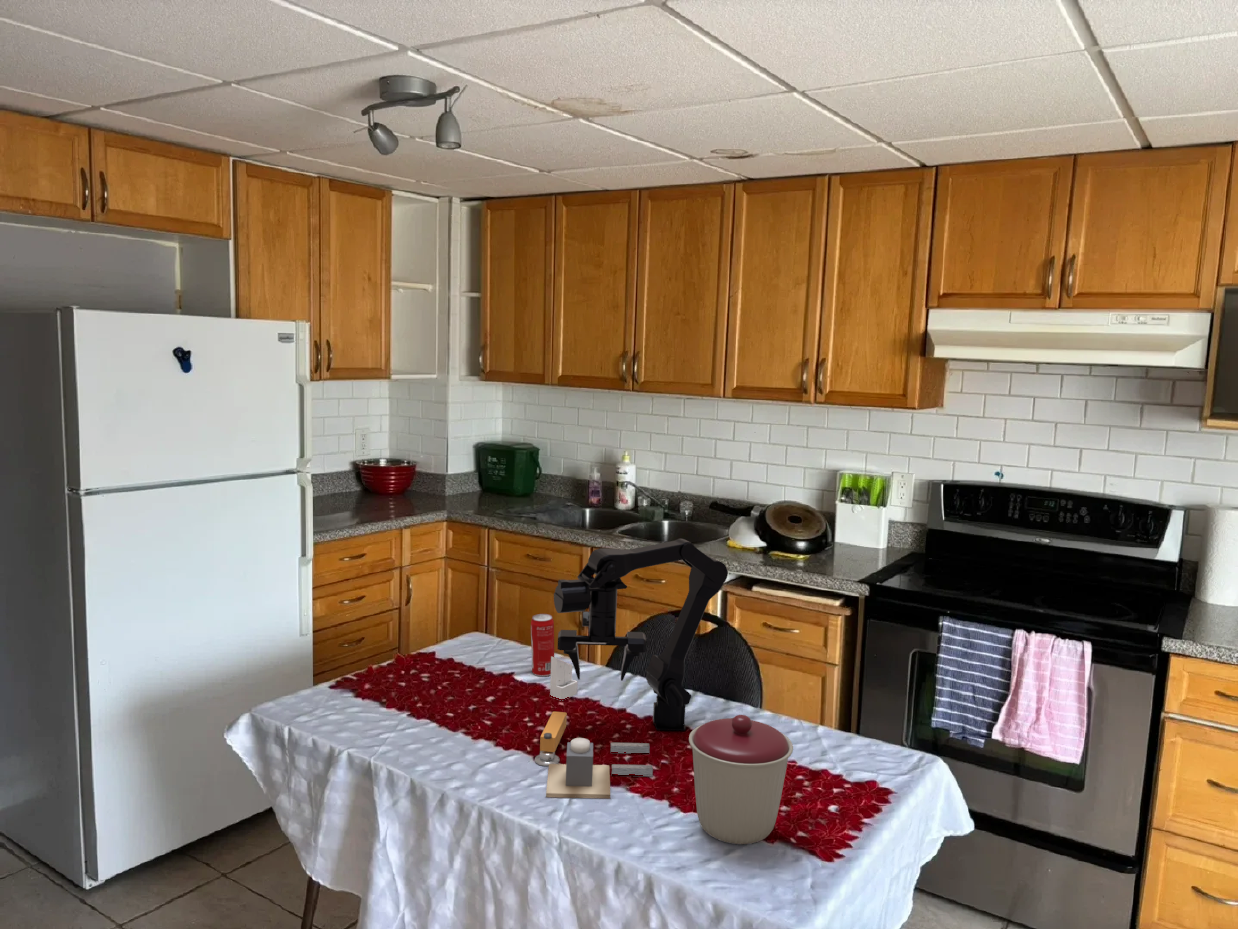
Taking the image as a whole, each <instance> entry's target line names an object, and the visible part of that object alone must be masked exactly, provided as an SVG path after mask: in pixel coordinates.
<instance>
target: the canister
mask: <svg viewBox="0 0 1238 929" xmlns="http://www.w3.org/2000/svg"><path fill="white" fill-rule="evenodd" d="M688 736H689V737H688V742H689V745H690V747H691V749H692V760H693V761H692V762H693V763H692V764H693V778H694V794H695V803H696V814H697V818H698V821H699V824H700V826H701V828H702V829H703V830H704V832H706V833H707V834H708V836H711V837H712V838H715V839H716V840H719V841H721V842H725V843H729V844H731V845H732V844H733V845H749V844H750V845H751V844H753V843H754V844H755V843H758V842H761V841H762V840H765V839H766V838H767V837H768V836H770V834H771V833H772V831H773V830H774V828H775V825H776V822H777V817H778V813H779V810H780V809H779V808H780V805H781V799H782V796H783V795H782V793H783V788H784V782H785V777H786V772H787V768H788V767H787V766H788V762H789V761H788V760H789V758H790V757H791V755H792V754H793V751H794V746H793V745H794V744H793V742H792V741H791V740H790V738H789V737H788V736H787V735H785V734H784V733H783V732H781V731H779V729H776V728H775V727H773V726H772V725H769V724H767V723H764V722H760V721H757V720H752V719H751V718H750V717H749V716H747V715H745V714H736V715H735V716H734V717H732V718H731V717H730V718H729V717H728V718H720V719H713V720H710V721H707V722H705V723H702V724H700V725H698V726H697V727H695V728H694V729H692V731H691V732H690V733H689V735H688Z"/></svg>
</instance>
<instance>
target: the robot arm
mask: <svg viewBox="0 0 1238 929" xmlns="http://www.w3.org/2000/svg"><path fill="white" fill-rule="evenodd" d="M679 561H681V562H684V564H685V565H687V567H689V568H690V571H689V576H688V593H687V596H686V598H685V600H684V603H683V605H682V607H681V611H680V612H679V615H678V618H677V620H676V622H675V625H674V627H673V629H672V632H671V634H670V636H669V638H668V641H667V644H666V646H665V648H664V650H663V651H662V652H660V654H659V655H656V654H652V656H651V658H650V662H649V664H648V666H647V667H646V668H645V669H644V671H645V672H646V675H645V679H646V682H647V684H648V685H649V687H650V688H651V689H652V691H653V693H654V694H656V698H655V699H656V700H655V701H654V702H653V705H652V706H653V709H652V710H653V711H652V722H653V725H655V729H656V730H657V731H675V730H676V731H679V730H681V731H683V732H685V731H686V724H685V722H686V721H685V720H686V719H685V718H686V705H689V704H690V702H691V699H692V695H691V693H690V692H689V691H688V690H687V689H686V688H685V687H684V686H683V684H684V683H683V682H684V679H685V678H684V677H685V659H686V657H687V654H688V653H689V650H690V648H691V644H692V642H693V640H694V638H695V635H696V632H697V630H698V628H699V626H700V623H701V621H702V619H703V616H704V613H705V611H706V608H707V606H708V604H709V601H711V599H713V598H714V596H716V595H717V593H719V592H720V591H721V590H722V587H723V586H724V584H725V582H726V581H727V579H728V575H729V570H728V568H727V566H726V564H725V563H723V562H722V561H721V560H719V559H716V558H714V557H713V556H710V555H707V554H705V553H704V552H702V551H701V550H700V549H698V547H696V546H695V545H694V543H693V542H691V541H689V540H686V539H684V538H677V539H675V540H672V541H671V540H670V541H667V542H661V543H655V544H650V545H646V546H640V547H634V548H628V549H626V548H625V549H621V548H609V547H608V548H606V547H605V548H601V547H600V548H597V549H595V550H593V551H592V552H591V553H590V555H589V557H588V560H587V563H586V564H585V566H584V567H583V569H581V571H580V573H579V574H578V575H577V577H576V578H577V579H558V581H557V586H556V587H555V590H554V593H553V604H554V608H555V611H556V613H558V614H565V613H576V612H582V627H588V630H587V631H588V635H578V634H577V633H578V632H577V630H576V629H560V631H558V634H557V650H559V651H563V654H565V655H568V657H569V660H570V662H572V667H573V669H574V671H575V674H576V678H577V680H581V667H580V657H579V646H580V645H581V646H582V645H583V646H584V645H585V646H586V645H587V646H617V647H624V651H623V659H622V663H621V664H622V665H621V669H620V681H622V682H623V681H624V678H625V677H626V674H627V672H628V670H629V667H630V665H631V664H632V662H633V660H634V659H635V657H639V656H640V653H641V654H642V653H643V654H644V653H646V652H647V636H646V634H645V633H644V632H643V631H627V632H626V636H616V634H617V633H616V631H617V630H616V629H617V608H618V607H617V605H618V590H624V589H625V590H627V589H628V585H627V584H625V583H624V582H623V580H622V579H621V578H623V577H626V576H627V575H628V574H630V573H631V572H633V571H636V570H638V569H643V568H648V567H649V568H650V567H653V566H659V565H664V564H668V563H673V562H679ZM594 575H595V576H594ZM587 609H589V611H586V610H587ZM578 645H579V646H578ZM681 731H680V732H681Z"/></svg>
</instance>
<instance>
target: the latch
mask: <svg viewBox="0 0 1238 929" xmlns="http://www.w3.org/2000/svg"><path fill="white" fill-rule="evenodd" d="M567 718H568V714H567V712H565V711H564V712H562V711H552V713H551V715H550V717H549V718H548V721H547V723H546V725H545V727H544V729H543V730H542V733H541V735H540V738H539V739H540V742H539V752H540V751H548V752H555V753H556V750H557V747H558V745H559V744H560V742H561V739H562V736H563V735H564V732H565V731H566V730H565V729H566V727H567Z"/></svg>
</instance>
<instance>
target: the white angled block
mask: <svg viewBox="0 0 1238 929" xmlns="http://www.w3.org/2000/svg"><path fill="white" fill-rule="evenodd" d="M578 683H579V682H578V681H577V680H574V679H573V664H571V663H569V662H566V661H564V660H562V659H560V658H558V657H556V656H554V657H552V656H551V675H550V683H549V684H550V685H549V686H550V687H549V692H550V693H549V696H550V695H551V696H553V697H556V698H559V699H565V698H567V697H569V698H571V697H573V696H576V695H578V685H579V684H578ZM567 699H568V698H567ZM565 700H566V699H565Z"/></svg>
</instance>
